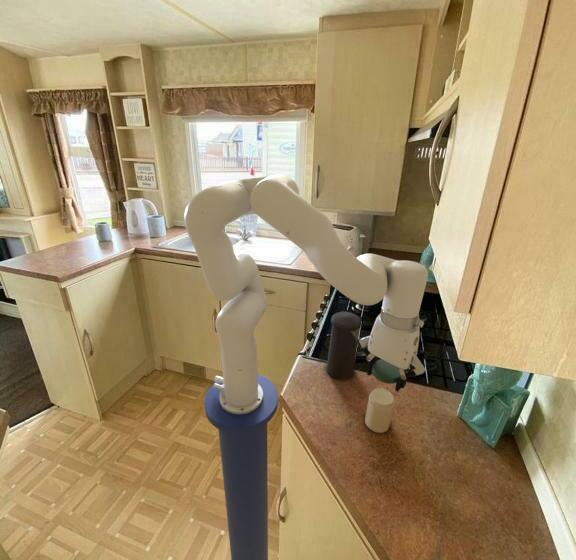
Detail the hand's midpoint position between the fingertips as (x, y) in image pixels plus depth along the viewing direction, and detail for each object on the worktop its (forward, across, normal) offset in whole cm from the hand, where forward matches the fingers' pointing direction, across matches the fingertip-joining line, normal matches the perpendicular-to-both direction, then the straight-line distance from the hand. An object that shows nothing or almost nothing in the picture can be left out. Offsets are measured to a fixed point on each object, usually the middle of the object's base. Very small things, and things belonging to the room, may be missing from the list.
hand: (384, 379), depth 75 cm
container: (+15, +18, -10) cm, 25 cm away
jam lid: (-3, 0, 0) cm, 3 cm away
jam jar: (+14, 0, 0) cm, 14 cm away
